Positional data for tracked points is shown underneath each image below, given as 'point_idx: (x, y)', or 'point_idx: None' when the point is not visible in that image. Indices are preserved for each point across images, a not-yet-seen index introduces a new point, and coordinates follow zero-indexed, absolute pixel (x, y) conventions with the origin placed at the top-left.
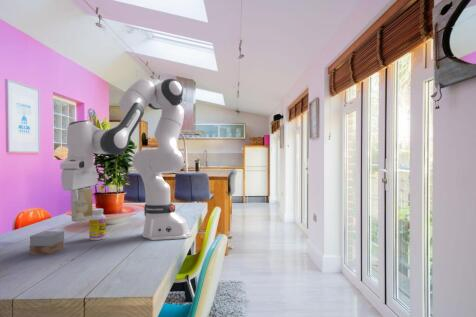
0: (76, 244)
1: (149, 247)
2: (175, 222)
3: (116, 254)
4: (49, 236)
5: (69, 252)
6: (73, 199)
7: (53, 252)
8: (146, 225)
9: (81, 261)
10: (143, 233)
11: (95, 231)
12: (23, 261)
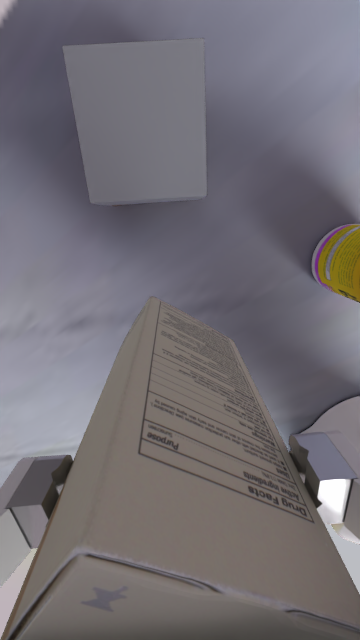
0: (254, 219)
1: None
2: (341, 532)
3: None
4: (88, 192)
5: (145, 263)
6: (14, 480)
7: (127, 204)
8: (356, 449)
9: (68, 358)
10: (345, 413)
11: (331, 274)
12: (9, 154)
